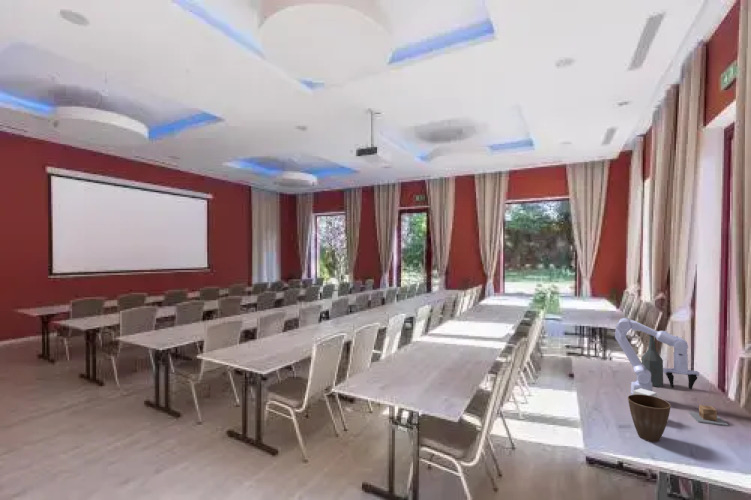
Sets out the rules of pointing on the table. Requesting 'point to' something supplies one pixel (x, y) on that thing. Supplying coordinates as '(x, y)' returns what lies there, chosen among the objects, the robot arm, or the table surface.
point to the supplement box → (645, 392)
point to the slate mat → (701, 420)
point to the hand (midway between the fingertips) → (681, 388)
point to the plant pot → (649, 416)
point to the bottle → (653, 363)
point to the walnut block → (708, 413)
